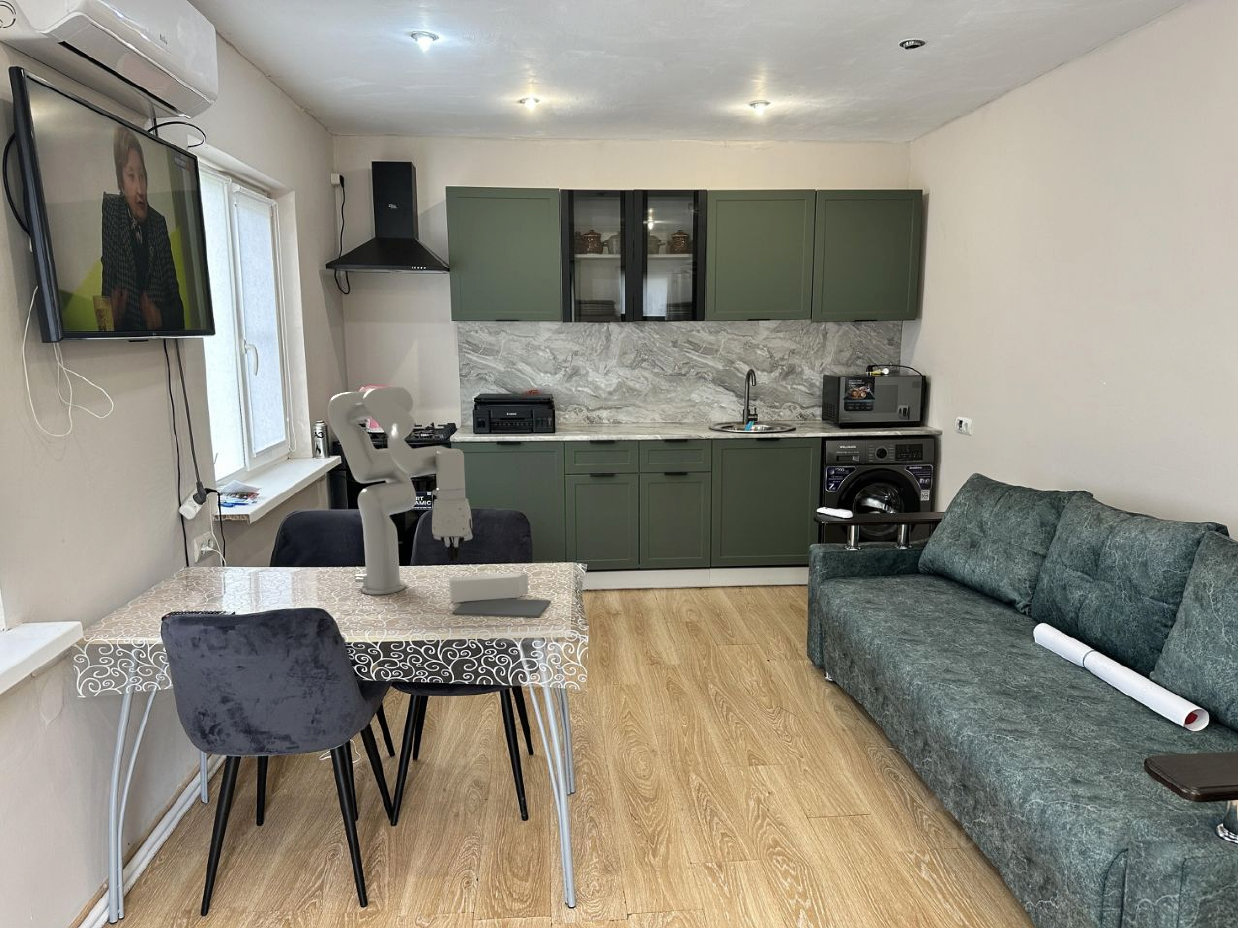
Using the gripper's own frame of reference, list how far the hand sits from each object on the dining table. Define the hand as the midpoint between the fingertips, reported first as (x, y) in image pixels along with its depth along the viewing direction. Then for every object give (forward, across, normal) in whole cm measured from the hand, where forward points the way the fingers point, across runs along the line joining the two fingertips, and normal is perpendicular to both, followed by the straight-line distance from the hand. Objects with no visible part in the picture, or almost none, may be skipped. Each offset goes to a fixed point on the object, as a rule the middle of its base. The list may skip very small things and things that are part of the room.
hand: (454, 559), depth 215 cm
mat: (+13, +13, 0) cm, 19 cm away
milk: (+10, -3, +3) cm, 10 cm away
